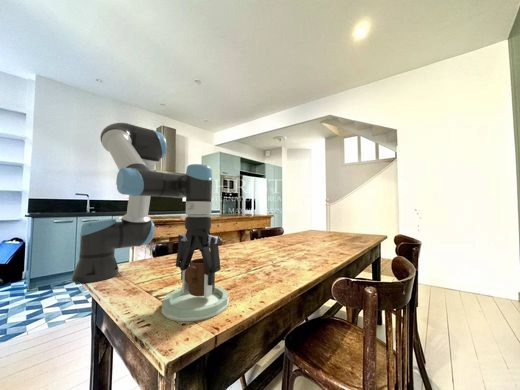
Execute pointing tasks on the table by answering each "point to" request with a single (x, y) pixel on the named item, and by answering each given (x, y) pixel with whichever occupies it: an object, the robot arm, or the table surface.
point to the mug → (196, 277)
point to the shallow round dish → (194, 305)
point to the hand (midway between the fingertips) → (196, 293)
